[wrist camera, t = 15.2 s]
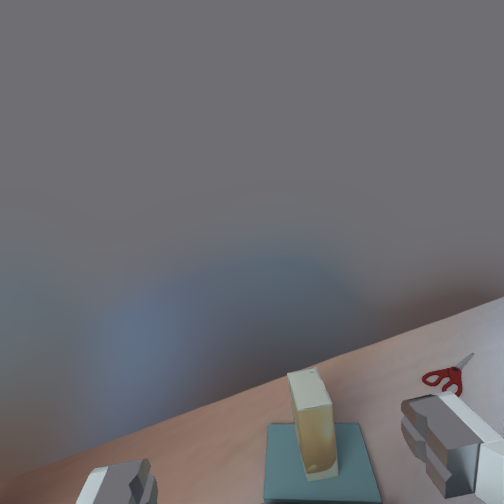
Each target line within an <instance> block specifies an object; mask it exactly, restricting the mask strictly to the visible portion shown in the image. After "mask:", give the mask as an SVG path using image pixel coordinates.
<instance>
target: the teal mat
mask: <svg viewBox="0 0 504 504" xmlns="http://www.w3.org/2000/svg"><path fill="white" fill-rule="evenodd" d="M334 425H335V436H336V448H337V460H338V470H339V475H338V476H336V477H331V478H327V479H322V480H316V481H310V482H308V481H307V478H306V474H305V470H304V467H303V463H302V460H301V455H300V451H299V447H298V442H297V437H296V430H295V424H268V437H267V453H266V469H265V485H264V502H265V503H287V504H382V500H381V497H380V494H379V490H378V487H377V484H376V480H375V477H374V474H373V470H372V467H371V464H370V460H369V457H368V454H367V450H366V447H365V444H364V441H363V437H362V434H361V431H360V427H359V424H358V423H334Z"/></svg>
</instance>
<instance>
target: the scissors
mask: <svg viewBox="0 0 504 504" xmlns="http://www.w3.org/2000/svg"><path fill="white" fill-rule="evenodd" d="M473 355H474V353H471V354H470V355H469V356H467V357H466V358H465V359H464V360H463V361H461V362H460V363H459V364H458V365H457V366H456V367H451V368H447V369H443V370H438V371H433V372H429V373H427V374H425V375H424V376H423V377H422V381H423V382H424V383H425V384H427V385H429V386H437V385H438V384H439V383H440V382H441V380H442V379H443V378H445V377H450V381H449V382H448V383H446V384H445V385H444V386H443V387H442V391H443V392H445V391H446V389H447V388H448V387H449V386H451V385H452V384H456V385H457V386H458V391H457V392H456V393H455V395H456V396H457V397H459V396H460V394H461V393H462V383H461V369H462V368H463V367H464V366H465V365H466V364H467V363H468V361H469V360H470V359H471V358H472V357H473ZM432 375H438V376H439V378H438V379H437V380H436V381H435V382H434V383H430V382H428V381H426V379H427V378H428V377H429V376H432Z"/></svg>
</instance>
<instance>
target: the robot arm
mask: <svg viewBox="0 0 504 504" xmlns="http://www.w3.org/2000/svg"><path fill="white" fill-rule="evenodd" d="M401 411H402V412H403V413H404V415H405V416H404V418H403V419H402V421H401V429H402V432H403V435H404V438H405V441H406V443H407V444H408V446H409V448H410V450H411V451H412V452H413V454H414V455H415V457H417V458H418V459H420V460H422V461H423V462H425V463H426V473H427V474H428V476H429V477H430V478H431V480H432V481H433V483H434V484H435V486H436V487H437V488H438V490H439V491H440V493H441V494H442V496H443V497H444V498H445V499H447V498H452V497H457V496H462V495H467V494H472V493H475V495H476V496H477V497H478V498H480V499H481V500H482V501H484V502H485V503H486V504H504V438H502V437H501V436H500V435H499V434H498V433H497V432H496V431H495V430H494V429H492V428H491V427H490V426H489V425H488V424H487V423H486V422H485V421H484V420H483V419H481V418H480V417H479V416H478V415H477V414H476V413H475V412H474V411H473V410H471V409H470V408H469V407H468V406H467V405H466V404H465V403H464V402H463V401H462V400H460V399H459V398H458V397H457V396H456V395H455V394H454V393H452V392H450V391H445V392H440V393H436V394H429V395H425V396H421V397H417V398H413V399H408V400H404V401H403V402H402V403H401ZM150 467H151V465H150V463H149V461H148V458H145V459H140V460H134V461H129V462H124V463H118V464H113V465H108V466H103V467H99V468H95V469H94V470H93V471H92V472H91V473H90V475H89V476H88V478H87V480H86V483H85V485H84V487H83V489H82V491H81V493H80V495H79V497H78V499H77V501H76V503H75V504H157V496H158V489H157V482H156V479H155V476H153V475H151V474H150V473H149V470H150Z"/></svg>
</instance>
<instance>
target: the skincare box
mask: <svg viewBox="0 0 504 504" xmlns="http://www.w3.org/2000/svg"><path fill="white" fill-rule="evenodd" d="M287 376H288V382H289V389H290V396H291V403H292V409H293V416H294V423H295V430H296V437H297V442H298V447H299V451H300V455H301V460H302V463H303V467H304V470H305V474H306V478H307V481H308V482H310V481H316V480H322V479H327V478H331V477H336V476H338V475H339V470H338V460H337V448H336V436H335V425H334V414H333V403H332V401H331V399H330V396H329V394H328V392H327V390H326V387H325V385H324V383H323V381H322V379H321V377H320V374H319V372H318V370H317V368H311V369H305V370H300V371H295V372H291V373H288V374H287Z"/></svg>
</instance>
